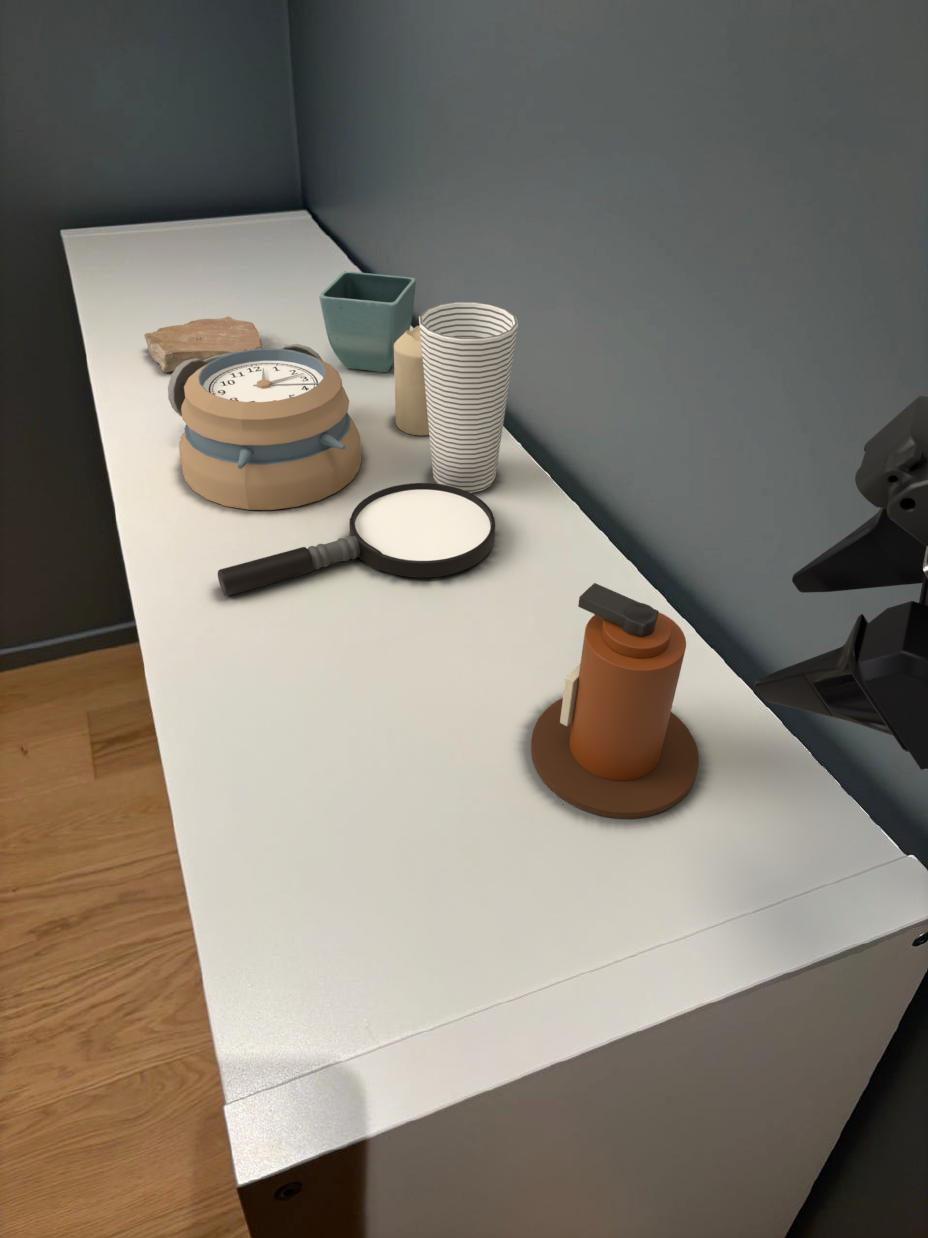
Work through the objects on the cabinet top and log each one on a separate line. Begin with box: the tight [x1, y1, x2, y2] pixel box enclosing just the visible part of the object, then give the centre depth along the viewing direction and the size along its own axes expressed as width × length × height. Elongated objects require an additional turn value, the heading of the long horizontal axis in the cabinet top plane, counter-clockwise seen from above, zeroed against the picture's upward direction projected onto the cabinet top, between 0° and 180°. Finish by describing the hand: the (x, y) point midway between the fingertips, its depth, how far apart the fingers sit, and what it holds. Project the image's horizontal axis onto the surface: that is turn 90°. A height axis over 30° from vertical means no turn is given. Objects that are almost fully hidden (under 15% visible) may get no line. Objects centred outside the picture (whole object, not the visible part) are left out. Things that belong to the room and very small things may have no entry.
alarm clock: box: [167, 343, 362, 511], centre depth 89 cm, size 17×9×23 cm
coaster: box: [530, 697, 700, 819], centre depth 61 cm, size 11×11×1 cm
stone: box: [143, 316, 263, 373], centre depth 107 cm, size 13×12×3 cm
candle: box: [393, 325, 429, 436], centre depth 93 cm, size 6×6×10 cm
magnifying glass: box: [217, 482, 496, 597], centre depth 77 cm, size 12×24×2 cm, turn 118°
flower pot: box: [318, 271, 417, 373], centre depth 105 cm, size 9×9×9 cm
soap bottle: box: [560, 582, 687, 781], centre depth 57 cm, size 7×6×11 cm
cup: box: [418, 301, 519, 494], centre depth 83 cm, size 8×8×16 cm
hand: (778, 634), depth 49 cm, fingers open, 9 cm apart
